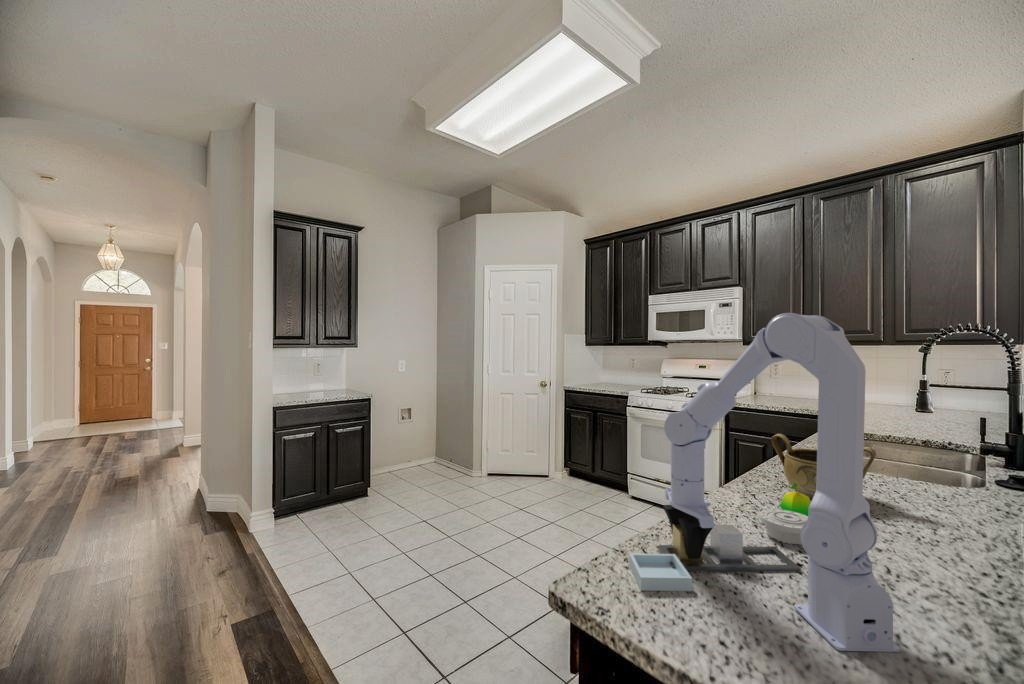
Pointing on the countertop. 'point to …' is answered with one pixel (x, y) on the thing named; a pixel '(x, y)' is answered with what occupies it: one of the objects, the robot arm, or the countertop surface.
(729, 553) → the grey block
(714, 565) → the rail
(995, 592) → the countertop surface
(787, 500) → the apple
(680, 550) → the tan wooden post
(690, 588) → the parts tray
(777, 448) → the ceramic bowl
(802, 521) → the mechanical component
